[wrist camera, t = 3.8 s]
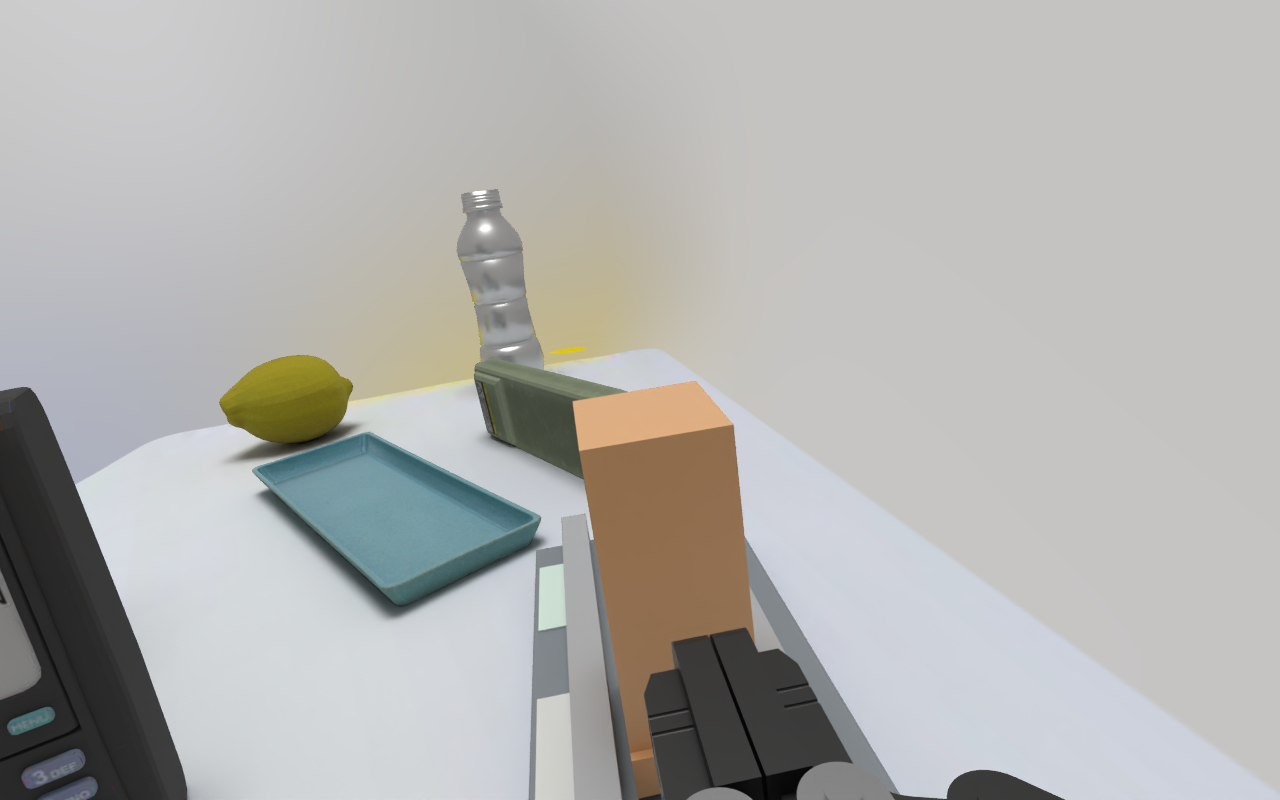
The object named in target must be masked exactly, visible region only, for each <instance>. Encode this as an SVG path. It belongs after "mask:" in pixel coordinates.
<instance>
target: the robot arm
mask: <svg viewBox="0 0 1280 800" xmlns="http://www.w3.org/2000/svg"><path fill="white" fill-rule="evenodd" d="M671 645H672V654H673V661H674V668H675V669H673V670H668V671H663V672H658V673H653V674H651V675H650V678H649V681H648V684H647V687H646V690H645V693H644V699H645V705H646V711H647V718H648V724H649V730H650V737H651V743H652V749H653V756H654V761H655V766H656V772H657V777H658V781H659V787H660V792H661V797H662V800H1064V799H1062V798H1060V797H1058V796H1056V795H1053V794H1051V793H1049V792H1047V791H1044V790H1042V789H1040V788H1038V787H1036V786H1033V785H1031V784H1029V783H1027V782H1025V781H1022V780H1020V779H1018V778H1016V777H1013V776H1011V775H1008V774H1005V773H1001V772H998V771H991V770H976V771H970V772H967V773H964V774H962V775H960V776H958V777H957V778H956V779H955V780H954V781H953V782H952V783H951V785H950V787H949V789H948V793H947V799H938V798H924V797H911V796H904V795H899V794H895V793H892V792H889V791H888V789H887V788H886V786H885V785H884V784H883V782H882V781H881V780H880V779H879V778H878V777H877V776H876V775H875V774H873V773H872V772H870V771H869V770H867V769H865V768H863V767H861V766H858V765H855V764H853V762H852V760H851V759H850V757H849V755H848V753H847V751H846V750H845V748H844V746H843V744H842V742H841V741H840V739H839V737H838V735H837V733H836V732H835V730H834V728H833V726H832V724H831V722H830V721H829V719H828V717H827V715H826V713H825V712H824V710H823V708H822V706H821V704H820V703H818V700H817V697H816V695H815V694H814V692H813V690H812V688H811V687H809V683H808V681H807V679H806V677H805V675H804V674H803V672H802V670H801V668H800V666H799V665H798V663H797V662H795V661H794V660H793V659H791V658H790V657H789V656H788V655H786V654H785V653H784V652H782V651H781V650H780V649H778V648H777V649H772V650H767V651H762V652H758V650H757V648H756V646H755V644H754V642H753V640H752V638H751V636H750V634H749V632H748V630H747V628H746V627H744V628H739V629H734V630H729V631H724V632H719V633H714V634H710V635H709V637H708V635H703V636H698V637H693V638H688V639H683V640H678V641H673V642H671Z"/></svg>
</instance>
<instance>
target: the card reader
mask: <svg viewBox="0 0 1280 800" xmlns="http://www.w3.org/2000/svg"><path fill="white" fill-rule="evenodd" d="M186 796H187V787H186V781H185V777H184V773H183V769H182V766H181V763H180V760H179V757H178V754H177V751H176V749H175V746H174V743H173V740H172V737H171V735H170V732H169V729H168V726H167V723H166V721H165V718H164V715H163V712H162V709H161V707H160V704H159V701H158V698H157V695H156V693H155V690H154V687H153V684H152V681H151V679H150V676H149V673H148V670H147V667H146V665H145V662H144V659H143V656H142V653H141V651H140V648H139V645H138V643H137V640H136V638H135V635H134V633H133V630H132V628H131V625H130V623H129V620H128V618H127V615H126V613H125V610H124V608H123V605H122V602H121V600H120V597H119V595H118V592H117V590H116V587H115V585H114V582H113V580H112V577H111V575H110V572H109V570H108V567H107V565H106V562H105V560H104V557H103V555H102V552H101V550H100V547H99V544H98V542H97V539H96V537H95V534H94V532H93V529H92V527H91V524H90V522H89V519H88V517H87V514H86V512H85V509H84V507H83V504H82V502H81V499H80V497H79V494H78V492H77V489H76V486H75V484H74V481H73V479H72V477H71V474H70V471H69V469H68V467H67V464H66V462H65V459H64V457H63V454H62V452H61V449H60V447H59V444H58V442H57V440H56V437H55V435H54V432H53V430H52V427H51V425H50V423H49V420H48V418H47V416H46V414H45V411H44V409H43V407H42V405H41V403H40V401H39V400H38V398H37V396H36V394H35V393H34V392H33V391H32V390H31V389H30V388H28V387H21V388H14V389H9V390H4V391H0V800H186Z"/></svg>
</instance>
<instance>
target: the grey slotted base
mask: <svg viewBox="0 0 1280 800" xmlns="http://www.w3.org/2000/svg"><path fill="white" fill-rule="evenodd" d="M561 522H562V543H563V546H557V547H552V548H546V549H541V550H536V578H535V612H534V645H533V678H532V712H531V745H530V778H529V800H662V797H661V794H657V795H653V796H648V797H644V798H639V799H638V796H637V790H636V784H635V778H634V772H633V767H632V761H631V754H630V748H629V742H628V736H627V730H626V724H625V719H624V713H623V707H622V701H621V695H620V689H619V683H618V677H617V671H616V665H615V660H614V654H613V648H612V642H611V636H610V630H609V624H608V618H607V612H606V606H605V601H604V595H603V589H602V583H601V577H600V571H599V565H598V559H597V553H596V547H595V542H594V540H590V538H589V532H588V526H587V520H586V514H580V515H574V516H569V517H563V518H561ZM744 537H745V536H744ZM745 547H746V557H747V567H748V577H749V587H750V597H751V607H752V618H753V628H754V638H755V646H756V648H757V650H758V652H762V651H767V650H772V649H777V648H778V649H780V650H781V651H782V652H784V653H785V654H786V655H788V656H789V657H790V658H791V659H793V660H794V661H795V662H797V663H798V665H799V666H800V668H801V670H802V672H803V674H804V675H805V677H806V679H807V681H808V683H809V687H811V688H812V690H813V692H814V694H815V695H816V697H817V700H818V703H820V704H821V706H822V708H823V710H824V712H825V713H826V715H827V717H828V719H829V721H830V722H831V724H832V726H833V728H834V730H835V732H836V733H837V735H838V737H839V739H840V741H841V742H842V744H843V746H844V748H845V750H846V751H847V753H848V755H849V757H850V759H851V760H852V762H853V764H855V765H858V766H861V767H863V768H865V769H867V770H869V771H870V772H872V773H873V774H875V775H876V776H877V777H878V778H879V779H880V780H881V781H882V782H883V784H884V785H885V786H886V788H887V789H888V791H889V792H892V793H895V794H899V792H898V791H897V789H896V787H895V786H894V784H893V782H892V781H891V779H890V777H889V776H888V774H887V772H886V771H885V769H884V767H883V766H882V764H881V762H880V761H879V759H878V757H877V756H876V754H875V752H874V751H873V749H872V747H871V746H870V744H869V742H868V741H867V739H866V737H865V736H864V734H863V732H862V731H861V729H860V727H859V726H858V724H857V722H856V721H855V719H854V717H853V716H852V714H851V713H850V711H849V709H848V708H847V706H846V704H845V703H844V701H843V699H842V698H841V696H840V694H839V693H838V691H837V689H836V688H835V686H834V684H833V683H832V681H831V679H830V678H829V676H828V674H827V673H826V671H825V669H824V668H823V666H822V664H821V663H820V661H819V659H818V658H817V656H816V654H815V653H814V651H813V649H812V648H811V646H810V644H809V643H808V641H807V639H806V638H805V636H804V634H803V633H802V631H801V629H800V628H799V626H798V624H797V623H796V621H795V619H794V618H793V616H792V615H791V613H790V611H789V610H788V608H787V606H786V605H785V603H784V601H783V600H782V598H781V596H780V595H779V593H778V591H777V590H776V588H775V586H774V585H773V583H772V581H771V580H770V578H769V576H768V575H767V573H766V571H765V570H764V568H763V566H762V565H761V563H760V561H759V560H758V558H757V556H756V555H755V553H754V551H753V550H752V548H751V546H750V545H749V543H748V541H747V540H746V538H745ZM899 795H900V794H899Z"/></svg>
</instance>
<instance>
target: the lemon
mask: <svg viewBox="0 0 1280 800" xmlns="http://www.w3.org/2000/svg"><path fill="white" fill-rule="evenodd" d="M352 388H353V385H352V383H351V381H349V379H346V378H343V377H341V376H340V375H339V374H338V372H337V371H336V370H335V369H334V368H333V367H332V366H331V365H330V364H329V363H327V362H326V361H325V360H322V359H320V358H317V357H314V356H305V355H297V356H287V357H282V358H278V359H275V360H271V361H269V362H266V363H264V364H262V365H260V366H257V367H256V368H254V369H253V370H251V371H250V372H248V373H247V374H246V375H245V376H244V377H243V378H242V379H241V380H240V381H239V382H238V383H237V384H235V385H234V386H233V387H232V388H231V389H230V390H229V391H228V392H227V393H226V394H225V395H224V396H223V397H222V398H221V399H220V402H219V403H220V406H221V408H222V410H223V412H224V413H225V414H226V416H227V419H228V422H229V423H230V424H231V425H233V426H235V427H239V428H242V429H245V430H246V431H248V432H249V433H251V434H252V435H254V436H256V437H258V438H260V439H263V440H266V441H271V442H278V443H296V442H304V441H309V440H312V439H315V438H318V437H320V436H321V435H323V434H325V433H327V432H329V431H330V430H332V429H333V428H334V427H336V426H337V425H338V424H339V423H340V422H341V420H342V419H343V417H344V415H345V413H346V409H347V403H348V399H349V396H350V394H351V392H352Z"/></svg>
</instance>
